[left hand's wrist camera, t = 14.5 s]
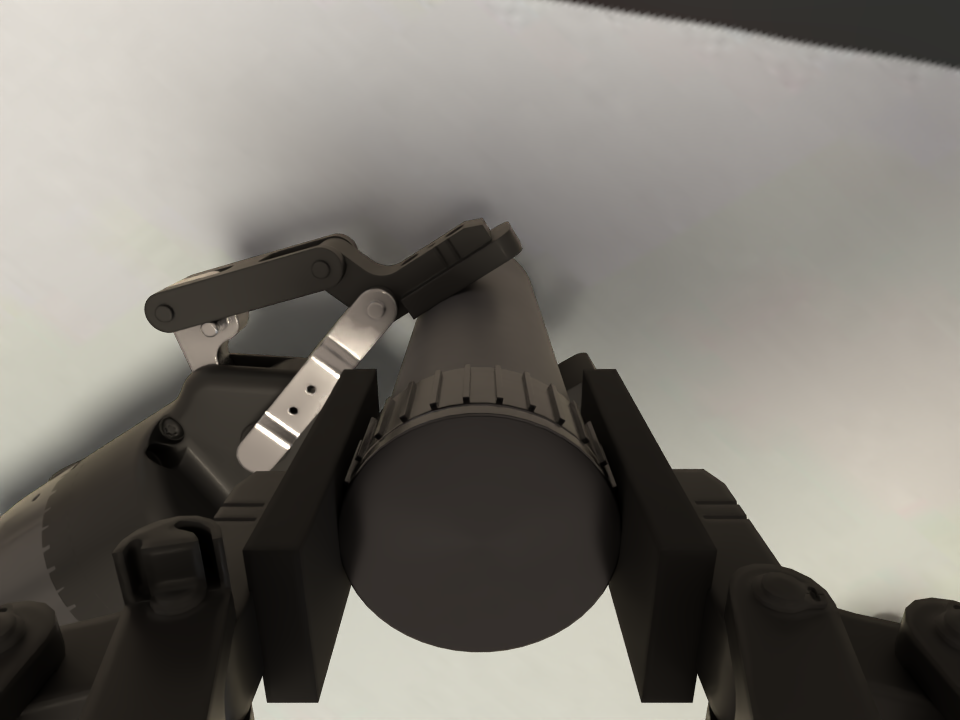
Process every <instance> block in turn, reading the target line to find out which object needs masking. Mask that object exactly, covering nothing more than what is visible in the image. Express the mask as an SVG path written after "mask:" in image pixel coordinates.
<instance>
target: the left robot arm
mask: <svg viewBox="0 0 960 720" xmlns="http://www.w3.org/2000/svg"><path fill="white" fill-rule="evenodd" d="M580 414H581V415H582V416H583V418H584V419H585V421H586V422H587V423H588V422H589V421H591V423H592V424H593V427H594V429H595V432H596V434H597V437H598V440H599V442H600V445H602V447H603V450H604V453H605V455H606V458H607V460H608V463H609V466H610V468H611V471H612V473H613V476H614V479H615V481H616V484H617V487H618V491H615V495H616V498H617V500H618V504H619V508H620V512H621V517H622V535H621V546H620V555H619V560H618V564H617V567H616V569H615V572H614V574H613V576H612V579H611V581H610V582H609V584H608V585H609V589H610V592H611V596H612V599H613V603H614V607H615V610H616V614H617V617H618V621H619V624H620V628H621V632H622V635H623V639H624V642H625V646H626V649H627V653H628V657H629V660H630V664H631V667H632V671H633V674H634V678H635V682H636V685H637V689H638V692H639V696H640V699H641V703H693V697H694V691H695V685H696V679H697V674H698V676H699V679H700V681H701V684H702V686H703V689H704V691H705V694H706V696H707V699H708V701H709V702H708V708H707V714H706V719H705V720H960V602H957V601H954V600H946V599H939V598H926V599H920V600H915V601H913V602H912V603H911V604H910V605H909V606H908V607H906V609H905V612H904V615H903V619H902V622H901V623H896V622H892V621H887V620H883V619H878V618H874V617H869V616H865V615H860V614H856V613H852V612H848V611H845V610H842V609H838V608H837V607H836V604H835V603H834V601H833V600H832V598H831V597H830V595H829V594H828V592H827V591H826V590H825V589H824V588H822V587H821V586H820V585H819V584H817V583H816V582H815V581H814V580H812V579H811V578H809V577H807V576H805V575H803V574H801V573H799V572H797V571H795V570H793V569H789V568H786V567H782V566H781V565H780V564H779V562H778V561H777V559H776V558H775V556H774V555H773V553H772V552H771V551H770V549H769V548H768V546H767V545H766V543H765V542H764V540H763V539H762V537H761V536H760V535H759V533H758V532H757V530H756V529H755V527H754V526H753V524H752V523H751V521H750V520H749V519H747V518H746V514H745V513H744V511H743V510H742V508H741V507H740V505H737V501H736V500H735V498H734V497H733V495H732V494H731V492H730V491H729V489H728V488H727V486H726V485H725V484H724V483H723V482H721V481H720V480H718V479H717V478H716V477H714V476H713V475H711V474H710V473H708V472H707V471H706V470H704V469H672V468H671V467H670V465H669V463H668V461H667V460H666V458H665V456H664V454H663V452H662V451H661V449H660V447H659V445H658V443H657V442H656V440H655V438H654V436H653V435H652V433H651V431H650V429H649V427H648V426H647V424H646V422H645V420H644V419H643V417H642V415H641V413H640V411H639V410H638V408H637V406H636V404H635V402H634V401H633V399H632V397H631V395H630V394H629V392H628V390H627V388H626V386H625V385H624V383H623V381H622V379H621V378H620V376H619V374H618V372H617V370H616V369H583V380H582V396H581V411H580ZM378 415H379V401H378V385H377V369H344V370H343V372H342V373H341V375H340V377H339V379H338V380H337V382H336V384H335V386H334V388H333V389H332V391H331V393H330V395H329V396H328V398H327V400H326V402H325V404H324V405H323V407H322V409H321V411H320V413H319V414H318V416H317V418H316V420H315V421H314V423H313V425H312V427H311V429H310V430H309V432H308V434H307V436H306V437H305V439H304V441H303V443H302V445H301V446H300V448H299V450H298V452H297V454H296V455H295V457H294V459H293V461H292V462H291V464H290V466H289V468H288V470H287V471H256V472H254V473H253V474H251V475H250V476H249V477H247V478H246V479H244V480H243V481H241V482H240V483H239V484H237V485H236V486H235V487H234V488H233V490H232V491H231V493H230V494H229V496H228V497H227V499H226V500H225V502H224V503H223V507H220V509H219V510H218V512H217V513H216V515H215V516H214V520H212V519H209V518H205V517H201V516H176V517H172V518H168V519H163V520H159V521H156V522H154V523H151V524H149V525H147V526H144V527H142V528H139V529H137V530H136V531H135V532H133V533H132V534H130V535H129V536H127V537H126V538H124V539H123V540H122V541H121V542H120V543H119V544H118V546H117V547H116V548H115V549H114V551H113V552H112V557H113V561H114V565H115V569H116V572H117V576H118V580H119V584H120V588H121V592H122V596H123V600H124V604H125V605H124V608H123V610H122V611H120V612H117V613H113V614H110V615H107V616H102V617H98V618H94V619H89V620H85V621H80V622H76V623H71V624H67V625H62V626H59V623H58V620H57V617H56V614H55V611H54V610H53V609H52V608H51V607H50V606H48V605H47V604H46V603H42V602H36V601H30V600H27V601H20V602H12V603H6V604H3V605H0V720H254V714H253V708H252V701H253V698H254V696H255V693H256V691H257V688H258V686H259V683H260V681H261V678H262V676H263V681H264V687H265V693H266V699H267V703H318V702H319V698H320V694H321V691H322V687H323V684H324V680H325V677H326V673H327V670H328V666H329V662H330V659H331V655H332V652H333V648H334V645H335V641H336V637H337V634H338V630H339V627H340V623H341V620H342V616H343V612H344V609H345V605H346V602H347V598H348V595H349V591H350V588H351V583H350V582H349V580H348V577H347V575H346V573H345V571H344V568H343V566H342V562H341V558H340V550H339V539H338V526H337V520H338V514H339V510H340V505H341V502H342V499H343V496H344V494H345V491H346V488H347V487H346V486H343V482H344V479H345V477H346V474H347V471H348V469H349V466H350V464H351V461H352V458H353V456H354V453H355V451H356V448H357V446H358V443H359V440H362V438H363V436H364V433H365V430H366V428H367V425H368V423H369V420H370V419H371V417H373V418H376V417H377V416H378Z"/></svg>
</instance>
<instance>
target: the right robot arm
mask: <svg viewBox="0 0 960 720" xmlns="http://www.w3.org/2000/svg"><path fill="white" fill-rule="evenodd" d="M521 250H522V246H521V243H520V241H519V239H518V237H517V236H516V234H515V232H514V231H513V229H512V227H511V226H510V224H509V222H504V223H502V224H500V225H498V226H497V227H495V228H493V229H492V230H490V229H489V228H488V226H487V224H486V223H485V221H484V220H483V218H480V219H474V220H469V221H465V222H463V223H461V224H460V225H458V226H457V227H455V228H454V229H452V230H451V231H449V232H447V233H446V234H444V235H443V236H441V237H440V238H438V239H437V240H435V241H433V242H432V243H430V244H429V245H427V246H426V247H424V248H422V249H421V250H419V251H418V252H416V253H415V254H413V255H412V256H410V257H408V258H407V259H405V260H404V261H402V262H400V263H399V264H396V265H391V266H386V265H381V264H378V263H376V262H374V261H373V260H371V259H370V258H368V257H367V256H366V255H364V254H363V253H362V252H360V251H359V250H358V248H357V246H356V244H355V242H354V241H353V240H352V239H351V238H350V237H348V236H346V235H344V234H332V235H329V236H325V237H322V238H318V239H315V240H311V241H308V242H304V243H301V244H297V245H294V246H290V247H287V248H283V249H280V250H276V251H273V252H269V253H266V254H263V255H259V256H256V257H252V258H249V259H245V260H242V261H238V262H235V263H231V264H228V265H224V266H221V267H217V268H214V269H210V270H207V271H203V272H200V273H196V274H193V275H190V276H188V277H186V278H185V279H183V280H181V281H178V282H176V283H174V284H172V285H170V286H168V287H166V288H165V289H163V290H161V291H159V292H157V293H155V294H153V295H152V296H150V297H149V298H148V299H147V301H146V303H145V309H144V310H145V315H146V318H147V320H148V321H149V323H150V324H151V325H152V326H153V327H154V328H156V329H158V330H160V331H162V332H167V333H172V332H174V334H175V337H176V339H177V341H178V343H179V345H180V347H181V349H182V351H183V353H184V355H185V358H186V360H187V362H188V364H189V366H190V368H191V370H192V373H191V374H190V375H189V376H188V378H187V379H186V380H185V382H184V384H183V387H182V390H181V392H180V394H179V396H178V398H177V399H176V400H175V401H173V402H171V403H170V404H168V405H167V406H165V407H164V408H162V409H161V410H159V411H157V412H156V413H154V414H153V415H151V416H150V417H148V418H147V419H145V420H144V421H142V422H140V423H139V424H137V425H136V426H134V427H133V428H131V429H130V430H128V431H126V432H125V433H123V434H122V435H120V436H119V437H117V438H116V439H114V440H112V441H111V442H109V443H108V444H106V445H105V446H103V447H102V448H100V449H98V450H97V451H95V452H94V453H92V454H91V455H89V456H88V457H86V458H84V459H83V460H81V461H78V462H76V463H73V464H71V465H69V466H67V467H65V468H63V469H62V470H60V471H58V472H57V473H55V474H54V475H53V476H52V478H50V479H49V482H47V483H46V484H44V485H43V486H41V487H40V488H38V489H37V490H35V491H33V492H32V493H30V494H29V495H27V496H26V497H25V498H23V499H22V500H20V501H19V502H18V503H16V504H15V505H14V506H13V507H12V508H10V509H9V510H8V511H7V512H6V513H5V514H4V515H2V516H1V517H0V605H3V604H6V603H12V602H20V601H27V600H30V601H36V602H42V603H46V604H47V605H48V606H50V607H51V608H52V609H53V610H54V611H55V614H56V617H57V620H58V623H59V626H62V625H67V624H71V623H76V622H80V621H85V620H89V619H94V618H98V617H102V616H107V615H110V614H113V613H117V612H120V611H122V610H123V608H124V605H125V604H124V600H123V596H122V592H121V588H120V584H119V580H118V576H117V572H116V569H115V565H114V561H113V557H112V552H113V551H114V549H115V548H116V547H117V546H118V544H119V543H120V542H121V541H122V540H123V539H124V538H126V537H127V536H129V535H130V534H132V533H133V532H135V531H136V530H137V529H139V528H142V527H144V526H147V525H149V524H151V523H154V522H156V521H159V520H163V519H168V518H172V517H176V516H201V517H205V518H209V519H212V520H214V516H215V515H216V513H217V512H218V510H219V509H220V507H223V503H224V502H225V500H226V499H227V497H228V496H229V494H230V493H231V491H232V490H233V488H234V487H235V486H236V485H237V484H239V483H240V482H241V481H243V480H244V479H246V478H247V477H249V476H250V475H251V474H253V473H254V472H256V471H287V470H288V468H289V466H290V464H291V462H292V461H293V459H294V457H295V455H296V454H297V452H298V450H299V448H300V446H301V445H302V443H303V441H304V439H305V437H306V436H307V434H308V432H309V430H310V429H311V427H312V425H313V423H314V421H315V420H316V418H317V416H318V414H319V413H320V411H321V409H322V407H323V405H324V404H325V402H326V400H327V398H328V396H329V395H330V393H331V391H332V389H333V388H334V386H335V384H336V382H337V380H338V379H339V377H340V375H341V373H342V372H343V370H344V369H355V367H356V366H357V365H358V363H359V362H360V361H361V360H362V358H363V357H364V356H365V355H366V354H367V352H368V351H369V350H370V349H371V348H372V347H373V345H374V344H375V343H376V342H377V341H378V339H379V338H380V337H381V336H382V335H383V334H384V332H385V331H386V330H387V329H388V328H389V326H390V325H391V324H392V323H393V322H394V321H396V320H397V319H399V318H400V317H402V316H404V315H405V314H407V313H410V315H411V316H412V318H413V319H415V318H417V317H419V316H420V315H422V314H423V313H425V312H427V311H428V310H430V309H431V308H433V307H435V306H436V305H437V304H439V303H440V302H442V301H444V300H446V299H448V298H449V297H451V296H452V295H454V294H456V293H457V292H459V291H461V290H462V289H464V288H465V287H467V286H469V285H470V284H472V283H473V282H475V281H477V280H478V279H480V278H482V277H483V276H485V275H486V274H488V273H490V272H491V271H493V270H495V269H496V268H498V267H499V266H501V265H503V264H504V263H506V262H507V261H509V260H511V259H512V258H513V257H515V256H516V255H517V254H519V253H520V252H521ZM324 290H325V291H327V292H328V293H329V294H331V295H332V296H334V297H335V298H336V299H338V300H339V301H341V302H342V303H344V304H345V305H346V306H348V309H347V310H346V311H345V312H344V314H343V315H342V316H341V317H340V318H339V319H338V321H337V322H336V323H335V324H334V325H333V327H332V328H331V329H330V330H329V332H328V333H327V334H326V335H325V337H324V338H323V339H322V340H321V342H320V343H319V344H318V345H317V346H316V348H315V349H314V350H313V351H312V353H311V354H310V355H309V356H308V358H304V357H287V356H271V355H255V354H239V353H229V350H228V342H229V339H231V338H233V337H234V336H235V335H236V334H237V333H239V332H240V331H241V330H242V329H243V328H244V327H245V326H246V325H247V323H248V321H249V311H252V310H256V309H259V308H263V307H266V306H270V305H274V304H277V303H281V302H284V301H288V300H292V299H295V298H299V297H302V296H306V295H310V294H313V293H317V292H320V291H324ZM558 367H559V370H560V373H561V376H562V379H563V382H564V385H565V388H566V392H567V395H568V398H569V401H570V403H571V402H572V401H573V400H574V401H575V402H576V403H577V405H578V408H579V411H581V396H582V380H583V369H596V368H595V366H594V364H593V363H592V361H591V359H590V358H589V356H588V354H587V353H579V354H576V355H574V356H572V357H570V358H568V359H567V360H565V361H563V362H561V363H560V364H558ZM379 413H380V412H379Z"/></svg>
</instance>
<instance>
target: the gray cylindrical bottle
mask: <svg viewBox="0 0 960 720" xmlns="http://www.w3.org/2000/svg"><path fill="white" fill-rule="evenodd" d="M466 364H470V365H471V367H490V368H495V365H501V369H506V370H510V371H514V372H518V373H522V374H523V373H524V371H526V372H529V373H530V377H532V378H535V379H537V380H539V381H541V382H543V383H545V384H546V385H548V386H549V385H550V384H551V383H552V384H553V385H555V386H556V389H557V392H559V393H560V394H561V395H563V396H564V397H565V398H566V399H567V400H568V401H569V398H568V395H567V392H566V388H565V385H564V382H563V379H562V376H561V373H560V370H559V367H558V364H557V361H556V358H555V355H554V352H553V349H552V346H551V343H550V340H549V337H548V334H547V331H546V328H545V324H544V321H543V318H542V315H541V312H540V309H539V306H538V303H537V300H536V297H535V294H534V291H533V288H532V285H531V282H530V279H529V277H528V275H527V273H526V272H525V270H524V269H523V268H522V266H521V265H520V264H519V263H518V262H517V261H516V260H514V259H513V258H512V259H511V260H509V261H507V262H506V263H504V264H503V265H501V266H499V267H498V268H496V269H495V270H493V271H491V272H490V273H488V274H486V275H485V276H483V277H482V278H480V279H478V280H477V281H475V282H473V283H472V284H470V285H469V286H467V287H465V288H464V289H462V290H461V291H459V292H457V293H456V294H454V295H452V296H451V297H449V298H448V299H446V300H444V301H442V302H440V303H439V304H437V305H436V306H435V307H433V308H431V309H430V310H428V311H427V312H425V313H423V314H422V315H420V316H419V317H417V320H416V323H415V326H414V329H413V332H412V335H411V338H410V341H409V344H408V347H407V350H406V353H405V357H404V360H403V363H402V366H401V369H400V372H399V375H398V378H397V381H396V384H395V387H394V390H393V393H392V396H391V398H392V399H393V398H394V397H396V396H397V395H398V394H400V393H401V392H402V391H404V390H405V389H406V388H407V387H408V384H409V382H411V381H414V382H415V383H417V382H419V381H420V380H422V379H425V378H427V377H430V376H433V375H435V371H436V370H440V369H441V371H442V372H446V371H449V370H453V369H461V368H464V367H465V365H466ZM569 402H570V401H569Z"/></svg>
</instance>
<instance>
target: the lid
mask: <svg viewBox="0 0 960 720" xmlns="http://www.w3.org/2000/svg"><path fill="white" fill-rule="evenodd" d="M343 486H346V487H347V488H346V491H345V494H344V496H343V499H342V502H341V505H340V510H339V514H338V520H337V526H338V539H339V550H340V558H341V562H342V566H343V568H344V571H345V573H346V575H347V577H348V580H349V582H350V583H351V585H352V587H353V588H354V590H355V591H356V593H357V595H358V596H359V597H360V598H361V599H362V601H363V602H364V603H365V604H366V606H367V607H368V608H369V609H370V610H372V611H373V612H374V613H375V614H376V615H377V616H378V617H379V618H380V619H382V620H383V621H384V622H386V623H387V624H388V625H390V626H391V627H393V628H394V629H396V630H398V631H400V632H401V633H403V634H405V635H407V636H409V637H411V638H414V639H416V640H418V641H420V642H423V643H426V644H430V645H433V646H436V647H440V648H445V649H450V650H455V651H465V652H495V651H504V650H510V649H515V648H519V647H524V646H527V645H530V644H533V643H536V642H539V641H541V640H544V639H546V638H548V637H550V636H553V635H555V634H557V633H558V632H560V631H562V630H563V629H565V628H567V627H568V626H570V625H571V624H572V623H574V622H575V621H576V620H578V619H579V618H580V617H582V616H583V615H584V614H585V613H586V612H587V611H588V610H589V609H590V608H591V607H592V606H593V605H594V604H595V603H596V601H597V600H598V599H599V598H600V596H601V595H602V594H603V592H604V591H605V589H606V587H607V586H608V584H609V582H610V581H611V579H612V576H613V574H614V572H615V569H616V567H617V564H618V560H619V555H620V546H621V535H622V517H621V512H620V508H619V504H618V500H617V498H616V495H615V491H618V487H617V484H616V481H615V479H614V476H613V473H612V471H611V468H610V466H609V463H608V460H607V458H606V455H605V453H604V450H603V447H602V445H600V442H599V440H598V437H597V434H596V432H595V429H594V427H593V424H592V423H591V421H589V422H588V423H587V422H586V421H585V419H584V418H583V416H582V415H581V414H580V411H579V408H578V405H577V403H576V402H575V401H574V400H573V401H572V402H571V403H570V402H569V401H568V400H567V399H566V398H565V397H564V396H563V395H561V394H560V393H559V392H557V389H556V386H555V385H553V384H552V383H551V384H550V385H549V386H548V385H546V384H545V383H543V382H541V381H539V380H537V379H535V378H532V377H530V373H529V372H526V371H524V373H523V374H522V373H518V372H514V371H510V370H506V369H501V365H495V368H490V367H471V365H470V364H466V365H465V367H464V368H461V369H453V370H449V371H446V372H442V371H441V369H440V370H436V371H435V375H433V376H430V377H427V378H425V379H422V380H420V381H419V382H417V383H415V382H414V381H411V382H409V384H408V387H407V388H406V389H405V390H404V391H402V392H401V393H400V394H398V395H397V396H396V397H394V398H393V399H392V398H391V397H389V398H388V399H387V400H386V402H385V405H384V408H383V409H382V411H381V412H380V413H379V415H378V416H377V417H376V418H373V417H371V419H370V420H369V423H368V425H367V428H366V430H365V433H364V436H363V438H362V440H359V443H358V446H357V448H356V451H355V453H354V456H353V458H352V461H351V464H350V466H349V469H348V471H347V474H346V477H345V479H344V482H343Z"/></svg>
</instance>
